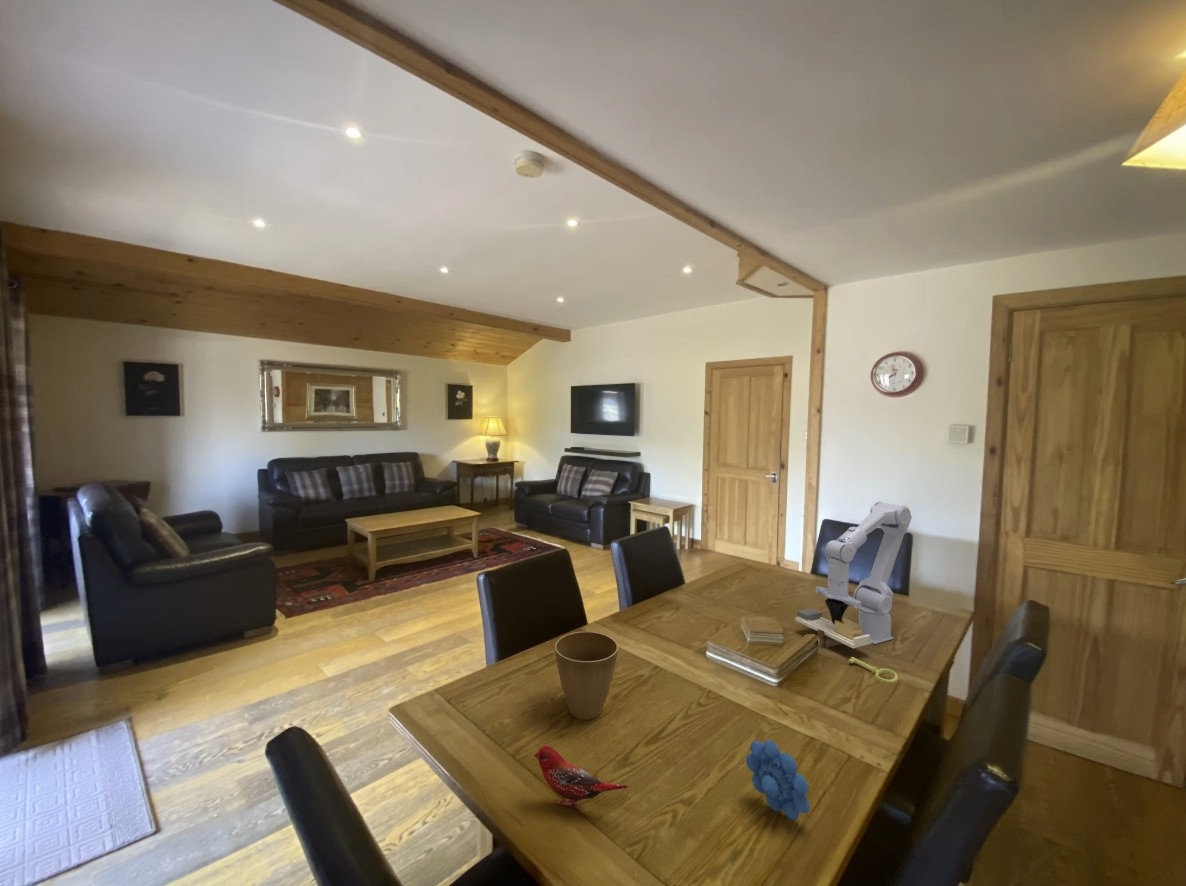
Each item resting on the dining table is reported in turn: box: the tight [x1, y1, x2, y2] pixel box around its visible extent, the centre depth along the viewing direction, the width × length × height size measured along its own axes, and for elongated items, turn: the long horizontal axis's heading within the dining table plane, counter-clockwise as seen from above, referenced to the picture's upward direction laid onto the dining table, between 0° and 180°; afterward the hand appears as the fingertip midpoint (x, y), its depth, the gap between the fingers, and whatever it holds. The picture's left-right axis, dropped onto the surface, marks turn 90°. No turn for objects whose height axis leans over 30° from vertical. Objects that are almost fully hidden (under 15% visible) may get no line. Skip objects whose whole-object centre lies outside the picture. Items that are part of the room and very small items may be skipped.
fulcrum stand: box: [817, 629, 844, 649], centre depth 153 cm, size 3×10×5 cm, turn 115°
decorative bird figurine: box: [533, 745, 629, 809], centre depth 86 cm, size 3×18×10 cm, turn 73°
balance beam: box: [795, 607, 873, 649], centre depth 152 cm, size 21×8×3 cm, turn 25°
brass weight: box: [835, 617, 862, 640], centre depth 147 cm, size 6×4×4 cm
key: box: [848, 656, 899, 684], centre depth 135 cm, size 7×12×2 cm, turn 53°
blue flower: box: [745, 740, 810, 821], centre depth 86 cm, size 12×7×12 cm, turn 44°
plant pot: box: [554, 631, 619, 720], centre depth 115 cm, size 15×15×16 cm
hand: (836, 623), depth 151 cm, fingers closed
